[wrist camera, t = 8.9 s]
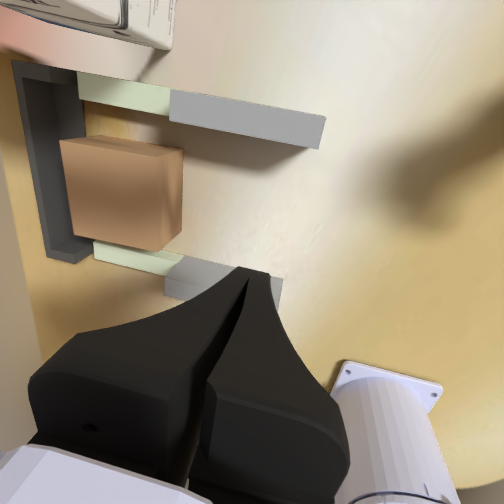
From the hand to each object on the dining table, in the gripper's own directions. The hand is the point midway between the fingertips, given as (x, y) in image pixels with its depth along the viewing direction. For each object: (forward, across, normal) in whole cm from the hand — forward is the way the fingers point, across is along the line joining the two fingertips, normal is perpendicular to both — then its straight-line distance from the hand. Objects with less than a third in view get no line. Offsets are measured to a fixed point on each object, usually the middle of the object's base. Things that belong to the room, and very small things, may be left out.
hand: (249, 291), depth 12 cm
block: (+10, +10, 0) cm, 14 cm away
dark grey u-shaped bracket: (+10, +15, 0) cm, 18 cm away
